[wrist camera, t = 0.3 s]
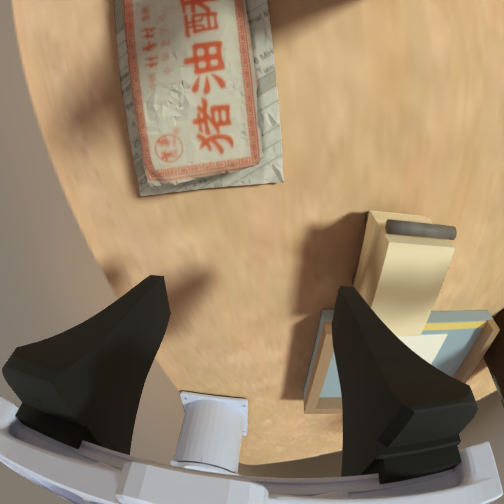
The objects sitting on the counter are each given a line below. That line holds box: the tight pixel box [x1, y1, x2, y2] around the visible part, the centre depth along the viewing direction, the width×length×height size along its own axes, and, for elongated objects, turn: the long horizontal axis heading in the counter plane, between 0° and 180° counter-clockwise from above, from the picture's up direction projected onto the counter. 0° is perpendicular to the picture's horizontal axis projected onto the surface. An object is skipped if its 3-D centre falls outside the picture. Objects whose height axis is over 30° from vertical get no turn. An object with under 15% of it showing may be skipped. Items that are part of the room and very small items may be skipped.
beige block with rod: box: [352, 210, 456, 336], centre depth 19 cm, size 8×4×6 cm, turn 179°
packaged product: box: [114, 0, 284, 196], centre depth 15 cm, size 18×5×10 cm
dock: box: [304, 309, 500, 414], centre depth 26 cm, size 12×18×3 cm, turn 89°
